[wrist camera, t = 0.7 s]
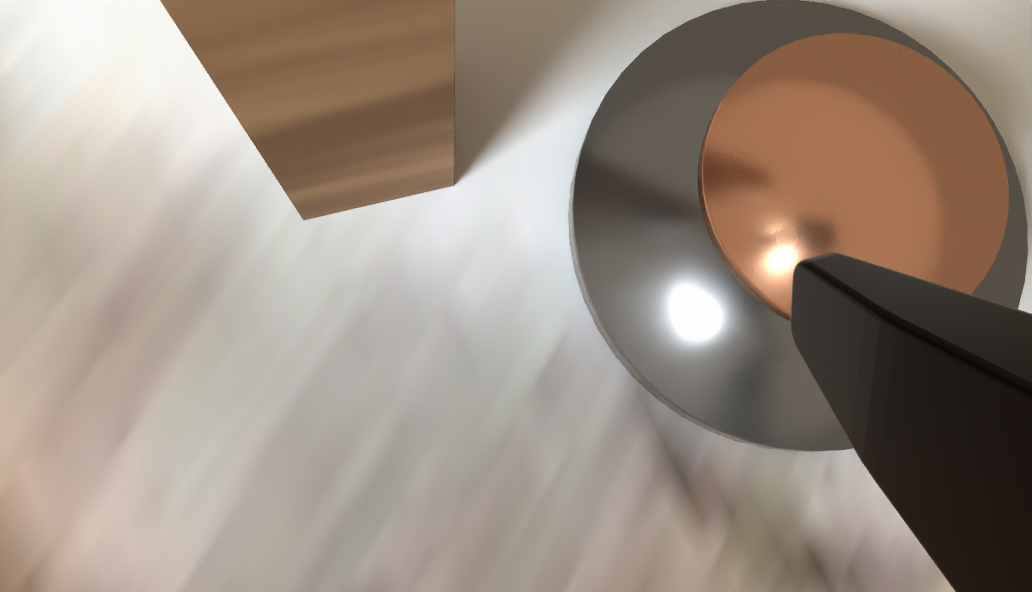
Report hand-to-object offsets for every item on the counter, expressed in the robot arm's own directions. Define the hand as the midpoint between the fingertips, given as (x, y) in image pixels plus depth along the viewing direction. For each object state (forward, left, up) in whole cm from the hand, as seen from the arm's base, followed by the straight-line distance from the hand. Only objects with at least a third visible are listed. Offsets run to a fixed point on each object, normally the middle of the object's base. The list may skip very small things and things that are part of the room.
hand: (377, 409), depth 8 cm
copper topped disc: (-5, -10, -13) cm, 17 cm away
